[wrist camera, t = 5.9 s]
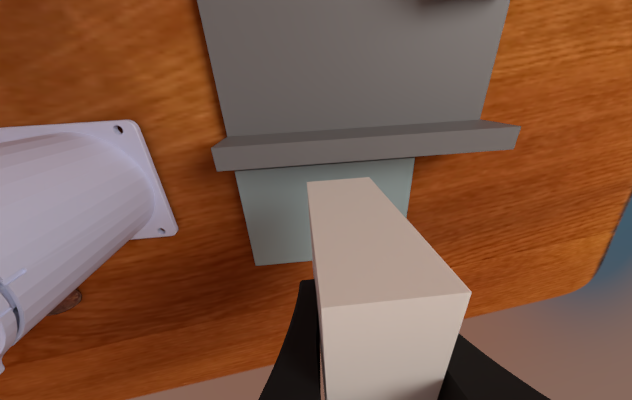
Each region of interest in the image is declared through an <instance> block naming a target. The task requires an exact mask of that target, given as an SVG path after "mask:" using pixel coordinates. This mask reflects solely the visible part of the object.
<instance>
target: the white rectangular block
mask: <svg viewBox="0 0 632 400" xmlns="http://www.w3.org/2000/svg"><path fill="white" fill-rule="evenodd" d="M307 194H308V207H309V220H310V233H311V246H312V259H313V272H314V279H315V286H316V295H317V308H318V322H319V335H320V353H321V363H322V374H323V385H324V396H325V400H437V398H438V395H439V392H440V389H441V386H442V383H443V380H444V377H445V374H446V370H447V367H448V364H449V361H450V358H451V355H452V352H453V349H454V346H455V343H456V340H457V336H458V333H459V330H460V327H461V324H462V321H463V318H464V315H465V312H466V309H467V305H468V302H469V299H470V296H471V293H472V292H471V291H470V290H469V288H468V287H467V286H466V285H465V284H464V283H463V282H462V281H461V279H460V278H459V277H458V276H457V275H456V274H455V273H454V272H453V271H452V269H451V268H450V267H449V266H448V265H447V264H446V263H445V262H444V260H443V259H442V258H441V257H440V256H439V255H438V254H437V253H436V251H435V250H434V249H433V248H432V247H431V246H430V245H429V244H428V242H427V241H426V240H425V239H424V238H423V237H422V236H421V235H420V234H419V232H418V231H417V230H416V229H415V228H414V227H413V226H412V225H411V223H410V222H409V221H408V220H407V219H406V218H405V217H404V216H403V214H402V213H401V212H400V211H399V210H398V209H397V208H396V207H395V205H394V204H393V203H392V202H391V201H390V200H389V199H388V198H387V197H386V195H385V194H384V193H383V192H382V191H381V190H380V189H379V188H378V186H377V185H376V184H375V183H374V182H373V181H372V180H371V179H370V177H364V178H351V179H338V180H325V181H312V182H307Z"/></svg>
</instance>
